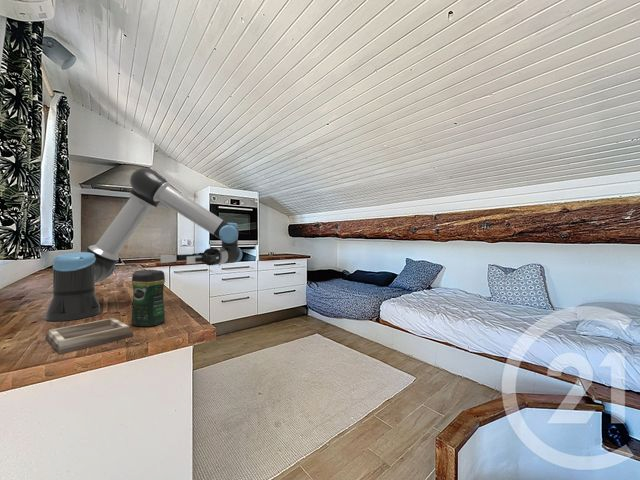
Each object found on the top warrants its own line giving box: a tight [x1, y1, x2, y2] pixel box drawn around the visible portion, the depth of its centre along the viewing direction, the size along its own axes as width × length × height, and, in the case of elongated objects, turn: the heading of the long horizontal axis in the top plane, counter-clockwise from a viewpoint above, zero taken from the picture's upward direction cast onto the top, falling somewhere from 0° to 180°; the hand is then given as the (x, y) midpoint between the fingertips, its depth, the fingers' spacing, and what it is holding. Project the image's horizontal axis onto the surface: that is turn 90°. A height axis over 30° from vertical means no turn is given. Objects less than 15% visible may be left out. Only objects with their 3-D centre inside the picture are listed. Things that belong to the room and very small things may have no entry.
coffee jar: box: [131, 269, 166, 327], centre depth 93 cm, size 10×8×19 cm
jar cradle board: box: [45, 317, 134, 355], centre depth 80 cm, size 18×16×3 cm
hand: (173, 259), depth 102 cm, fingers open, 13 cm apart
